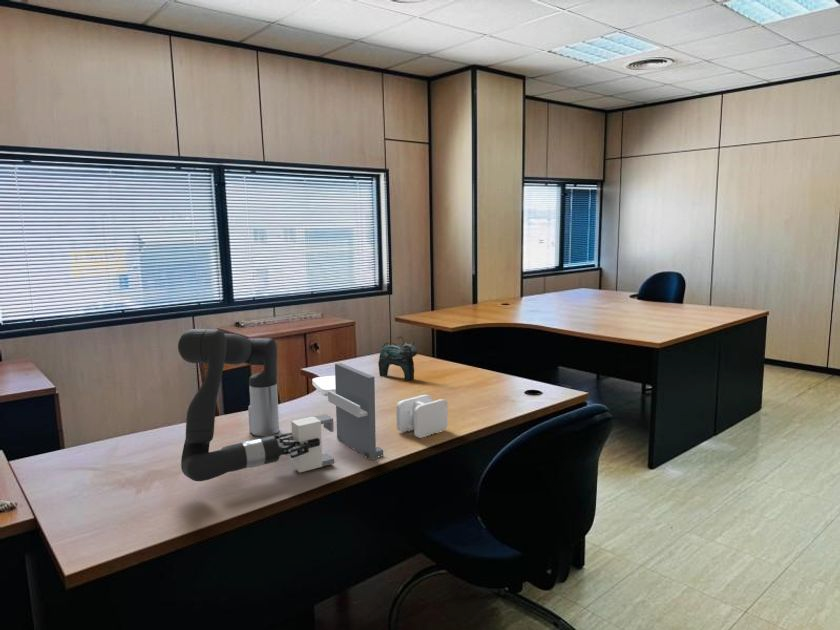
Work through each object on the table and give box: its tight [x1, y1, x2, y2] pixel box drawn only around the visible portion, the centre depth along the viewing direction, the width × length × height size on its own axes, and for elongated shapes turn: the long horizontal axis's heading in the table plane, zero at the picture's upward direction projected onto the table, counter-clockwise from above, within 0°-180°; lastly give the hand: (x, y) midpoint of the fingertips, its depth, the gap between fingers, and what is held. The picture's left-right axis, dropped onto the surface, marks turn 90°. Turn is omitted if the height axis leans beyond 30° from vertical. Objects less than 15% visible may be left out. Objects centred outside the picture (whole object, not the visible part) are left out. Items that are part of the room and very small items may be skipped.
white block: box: [290, 413, 335, 473], centre depth 169 cm, size 5×11×14 cm, turn 125°
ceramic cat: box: [378, 336, 418, 382], centre depth 268 cm, size 20×6×20 cm, turn 58°
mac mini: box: [311, 374, 336, 396], centre depth 256 cm, size 22×22×3 cm
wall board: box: [327, 362, 384, 460], centre depth 183 cm, size 22×8×26 cm, turn 35°
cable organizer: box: [396, 394, 449, 439], centre depth 198 cm, size 15×11×12 cm
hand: (314, 438), depth 169 cm, fingers closed on white block, 5 cm apart
